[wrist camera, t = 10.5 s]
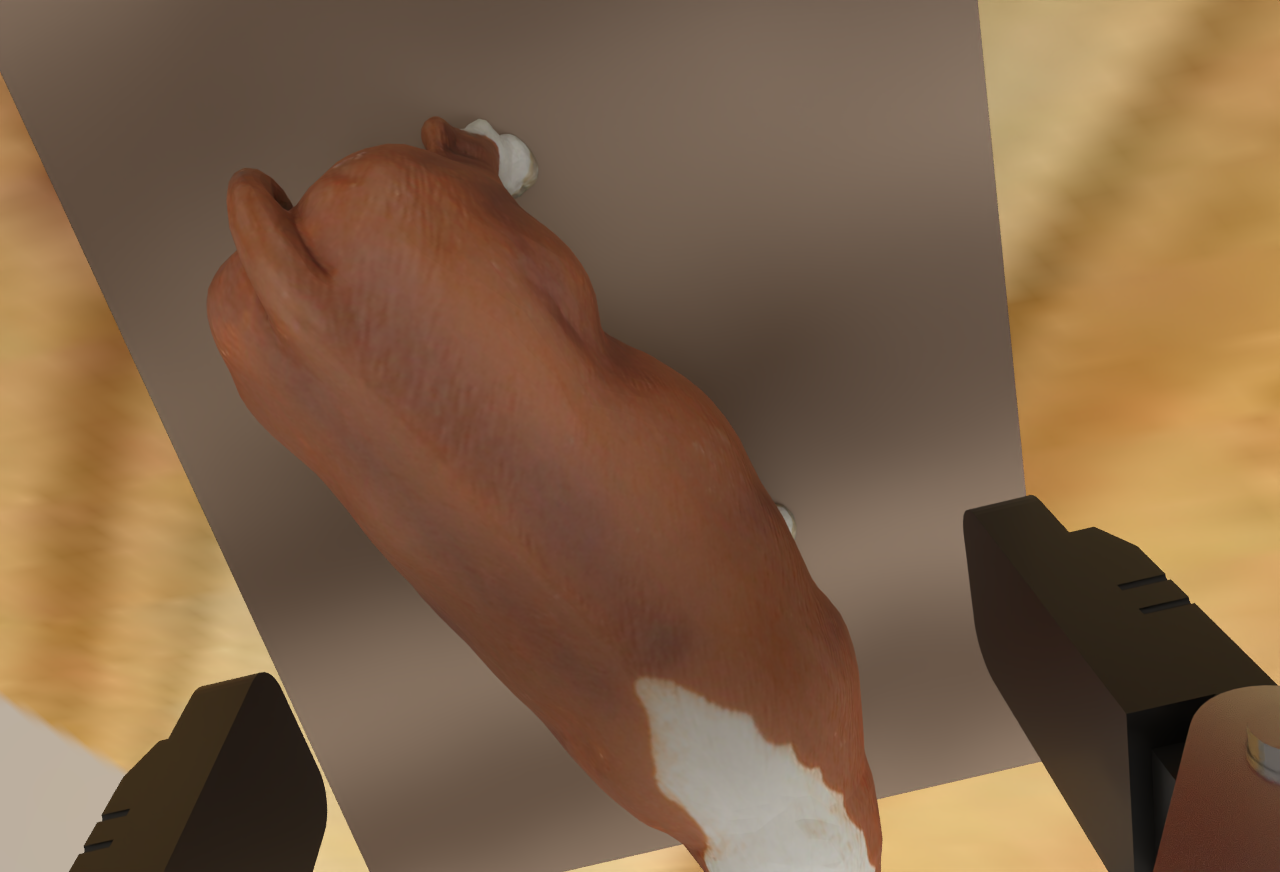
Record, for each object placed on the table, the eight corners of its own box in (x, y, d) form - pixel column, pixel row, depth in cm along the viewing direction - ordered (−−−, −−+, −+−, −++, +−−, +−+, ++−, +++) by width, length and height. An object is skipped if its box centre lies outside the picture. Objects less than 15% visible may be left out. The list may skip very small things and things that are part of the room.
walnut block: (132, -3, 20) (-35, -5, 14) (842, -192, 19) (951, -268, 14) (425, 725, 27) (388, 912, 21) (950, 600, 26) (1051, 759, 21)
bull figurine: (693, 764, 20) (766, 1208, 13) (265, 166, 15) (-19, 323, 8) (892, 665, 20) (1089, 1072, 12) (512, 8, 15) (455, 18, 7)
